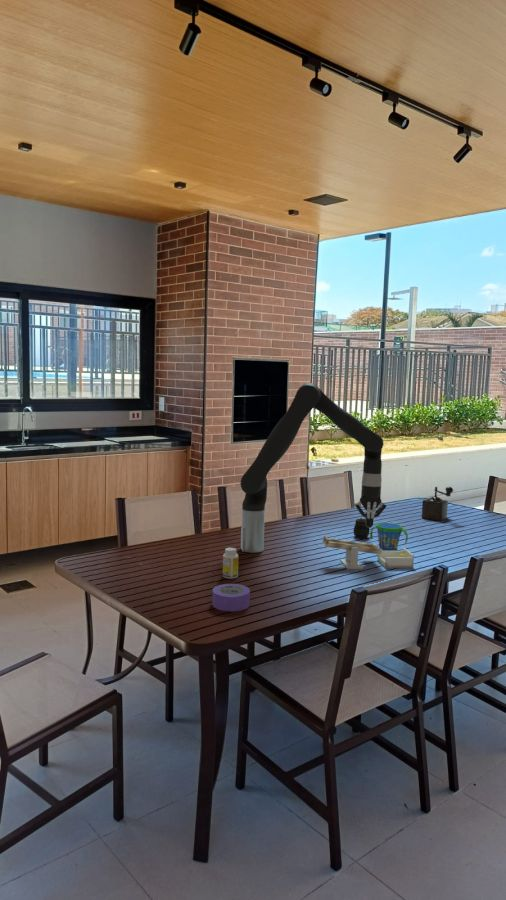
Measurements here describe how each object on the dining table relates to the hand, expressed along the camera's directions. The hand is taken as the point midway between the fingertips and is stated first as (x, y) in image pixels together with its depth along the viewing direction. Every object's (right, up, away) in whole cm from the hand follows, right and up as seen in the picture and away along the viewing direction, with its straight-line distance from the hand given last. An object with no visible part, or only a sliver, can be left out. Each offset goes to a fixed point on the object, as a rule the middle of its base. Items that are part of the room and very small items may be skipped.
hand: (369, 527), depth 256 cm
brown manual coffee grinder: (+51, -5, +80) cm, 95 cm away
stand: (-8, -14, -6) cm, 17 cm away
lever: (-8, -7, -4) cm, 11 cm away
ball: (+14, -12, -4) cm, 19 cm away
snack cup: (+11, -12, +18) cm, 25 cm away
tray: (+9, -14, -4) cm, 17 cm away
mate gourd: (+3, -9, +37) cm, 39 cm away
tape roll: (-53, -19, -52) cm, 77 cm away
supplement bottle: (-54, -15, -24) cm, 61 cm away
